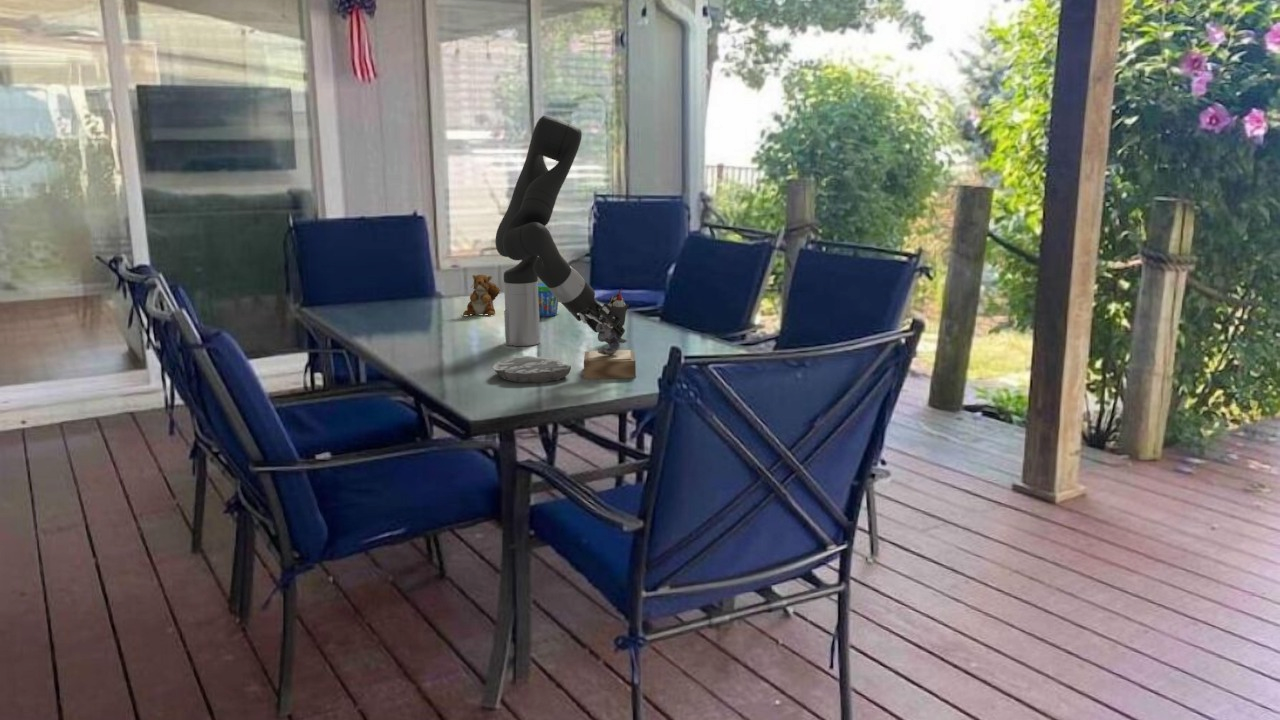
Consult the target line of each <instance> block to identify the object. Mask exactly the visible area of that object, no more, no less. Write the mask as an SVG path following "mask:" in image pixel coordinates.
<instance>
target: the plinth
mask: <svg viewBox="0 0 1280 720" xmlns="http://www.w3.org/2000/svg"><path fill="white" fill-rule="evenodd" d="M635 354H636V353H635V350H630V349H627V350H626V349H618V350H617V351H616V353H614V354H613V355H603V354H600V353H598V350H588V351H587V350H586V351H584V356H583V357H584V358H583V377H584V380H585V379H588V380H589V379H591V380H592V379H593V380H594V379H628V378H629V379H630V378H634V379H636V377H637V375H636V372H637V371H636V355H635Z"/></svg>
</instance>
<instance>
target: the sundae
mask: <svg viewBox="0 0 1280 720" xmlns="http://www.w3.org/2000/svg"><path fill="white" fill-rule="evenodd" d="M622 290H623V288H620V290H619V291H618V293H616V295H613V296H610V297H609V303H607V304H608V305H609V306H610V307H611V308H612V310H613V311H614V312H615V313H616V314H617V315H618V316H619V317H620V318H621V321H620V322H619V324H620V325H621V326H622V327H623V326H624V325H625V322H626V314H627V309H628V307H630V304H627V303H625V301H624V298H623V297H622V294H621V293H620V292H621V291H622ZM616 337H617V339H618V341H619V343H620V342H623V343H625V341H626V342H627V339H624V338H622V337H618V336H617V335H616ZM620 344H621V343H620Z"/></svg>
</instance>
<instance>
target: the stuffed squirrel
mask: <svg viewBox="0 0 1280 720" xmlns="http://www.w3.org/2000/svg"><path fill="white" fill-rule="evenodd" d="M493 277H494V276H492V275H490V276H488V275H486V274H477V275H475V274H473V275H472V280H473V284H472V286H471V288H473V292H472V293H471V294H470V296H469V299H470V300H469V302H468V303H467V306H466V310H464V311H463V313H462V314H463V316H464V315H470V314H488V315H494V314H495V315H496V309H495V306H494V300H496V298H497V297H498V296H499V295H500V294H501V293H500V291H501V289H499V288H500V287H498V286H497V285H496V284H495V283H494V282H490V281H491V280H492V279H493ZM495 315H494V316H495Z"/></svg>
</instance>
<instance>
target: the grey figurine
mask: <svg viewBox="0 0 1280 720" xmlns="http://www.w3.org/2000/svg"><path fill="white" fill-rule="evenodd" d="M599 319H603V316H601V317H600V318H599ZM606 321H607V320H606ZM607 322H608V321H607ZM608 323H609V322H608ZM596 331H597V332H598V333H597V332H596V333H597V340H598V341H599V342H600V343H602V342H603V343H604V342H605V343H606V344H608V345H609V347H608V348H605V347H604V346H601V348H599V349H597V351H598V353H600V354H603V355H613V354H614V353H616V351H617V350H620V346H621V343H619V341H618V339H617V337H616V334H615V333H614V332H613V331H612V330H611V329H610V328H609V327H608V326H607V325H605V324H600V323H598V324H597V326H596Z"/></svg>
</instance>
